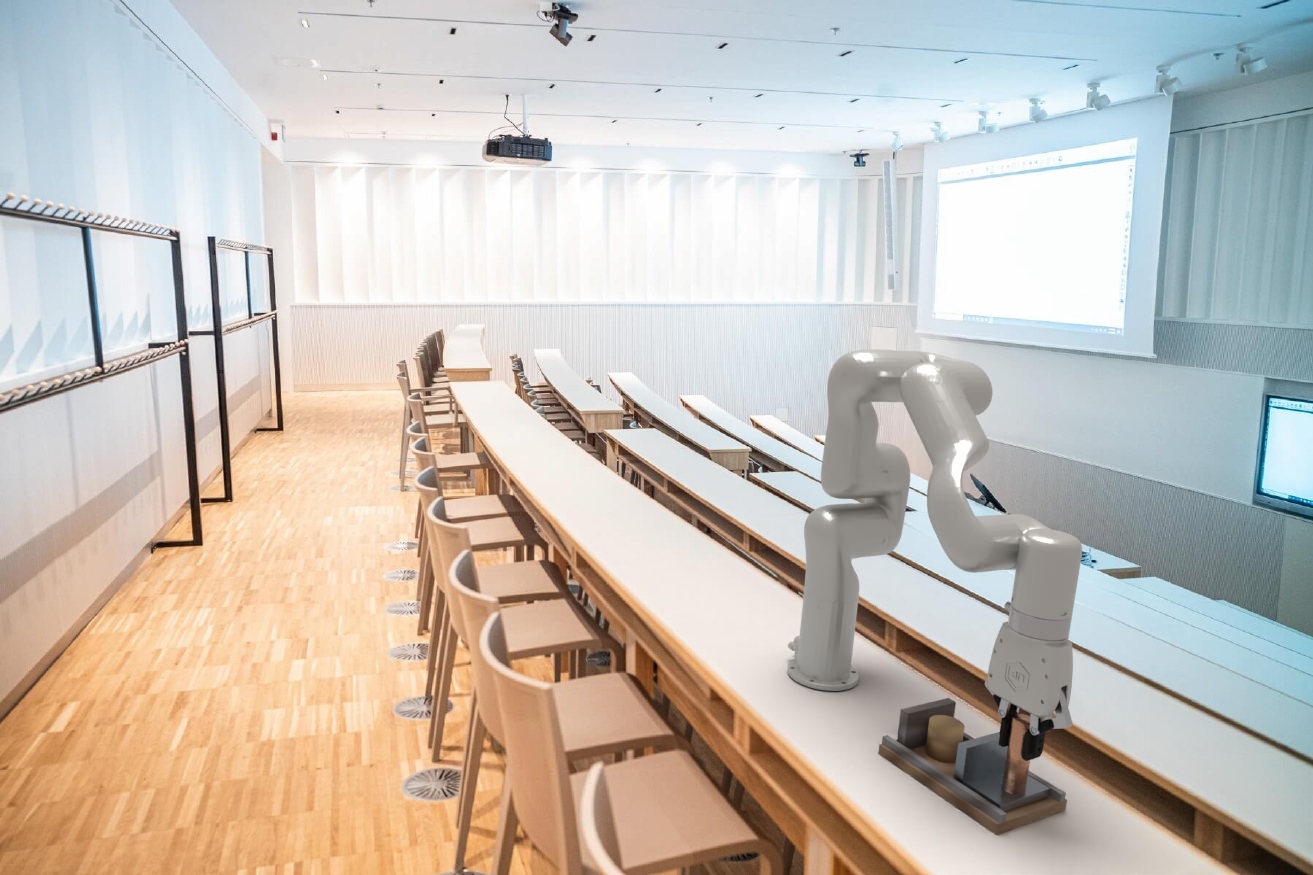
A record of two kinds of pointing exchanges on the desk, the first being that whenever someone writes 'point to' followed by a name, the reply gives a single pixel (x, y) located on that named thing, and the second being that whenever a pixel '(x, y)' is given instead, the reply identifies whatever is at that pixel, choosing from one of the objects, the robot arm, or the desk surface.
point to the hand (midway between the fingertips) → (1019, 749)
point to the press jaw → (999, 768)
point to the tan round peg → (944, 738)
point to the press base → (941, 775)
